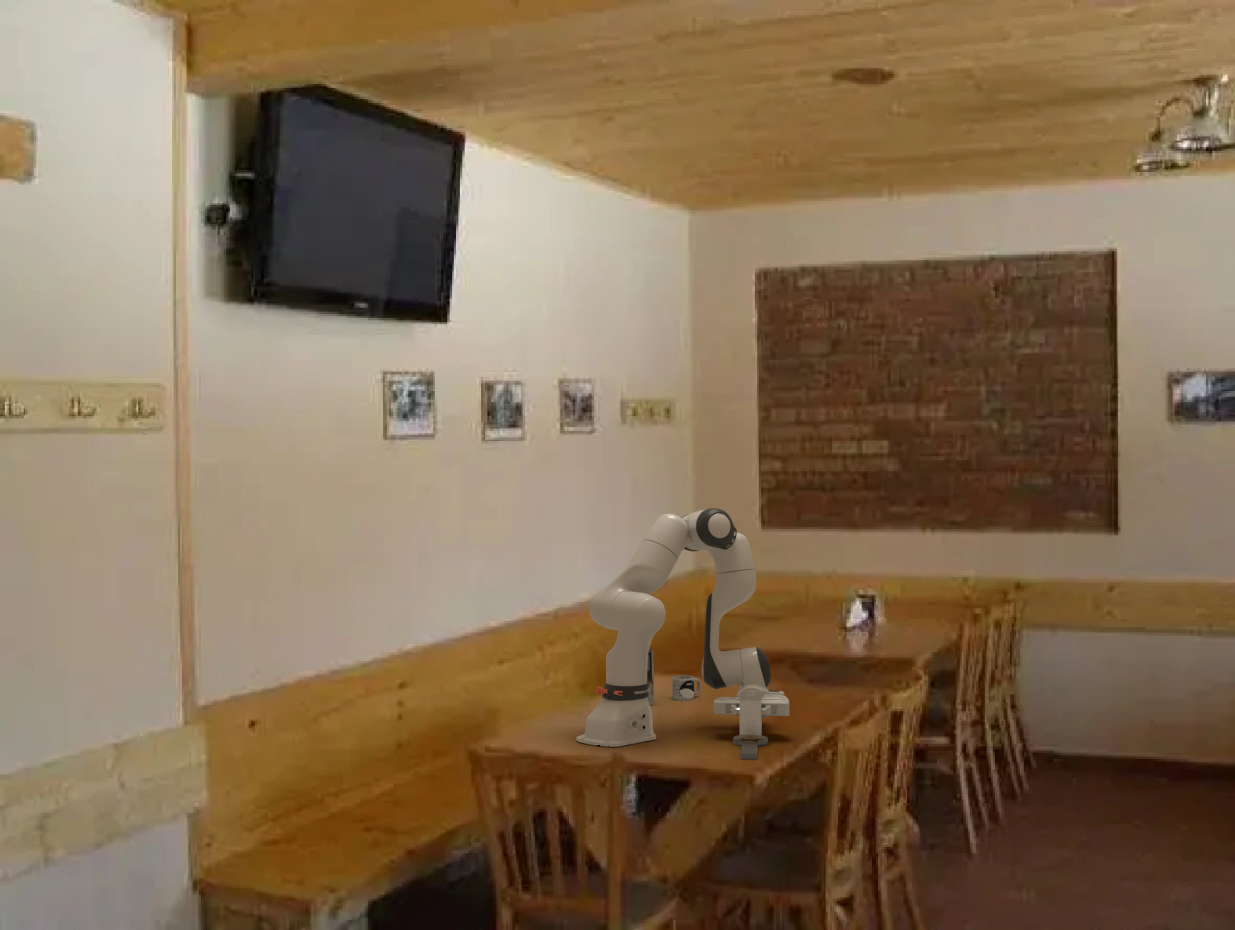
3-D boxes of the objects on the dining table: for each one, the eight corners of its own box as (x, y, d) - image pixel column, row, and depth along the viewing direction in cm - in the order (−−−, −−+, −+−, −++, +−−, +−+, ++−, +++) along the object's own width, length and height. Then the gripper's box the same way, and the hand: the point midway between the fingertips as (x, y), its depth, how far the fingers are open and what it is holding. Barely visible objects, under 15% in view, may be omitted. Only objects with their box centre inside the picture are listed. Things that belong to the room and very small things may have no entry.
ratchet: (733, 739, 404) (733, 719, 404) (767, 740, 403) (767, 719, 403) (730, 759, 381) (730, 737, 381) (766, 760, 380) (766, 738, 380)
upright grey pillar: (761, 735, 396) (761, 696, 396) (739, 734, 396) (739, 695, 396) (761, 730, 401) (761, 692, 401) (740, 730, 402) (740, 692, 402)
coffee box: (654, 701, 459) (654, 648, 458) (652, 705, 452) (652, 651, 452) (624, 701, 460) (624, 648, 459) (622, 705, 453) (622, 651, 453)
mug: (681, 701, 459) (681, 679, 459) (668, 698, 464) (668, 676, 464) (707, 698, 465) (707, 676, 465) (693, 694, 470) (693, 673, 470)
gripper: (713, 690, 413) (710, 699, 399) (789, 691, 410) (789, 700, 397) (713, 713, 413) (710, 723, 399) (789, 714, 411) (789, 725, 397)
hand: (750, 712), depth 398 cm, fingers closed on upright grey pillar, 5 cm apart
